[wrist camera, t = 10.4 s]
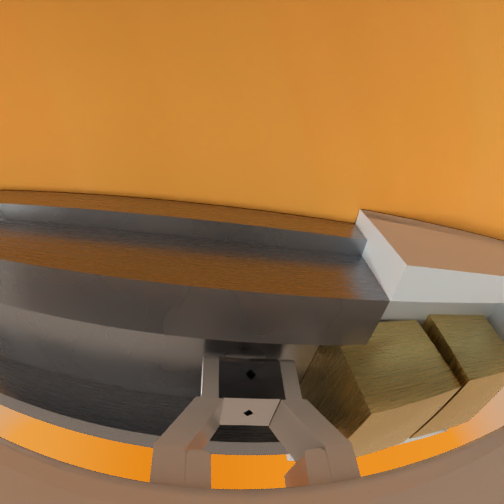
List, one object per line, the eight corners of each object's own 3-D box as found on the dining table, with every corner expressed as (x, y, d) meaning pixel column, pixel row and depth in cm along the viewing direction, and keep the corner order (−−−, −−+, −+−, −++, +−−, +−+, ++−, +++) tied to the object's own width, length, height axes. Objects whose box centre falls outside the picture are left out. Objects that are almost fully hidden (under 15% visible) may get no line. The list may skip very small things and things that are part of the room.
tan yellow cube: (295, 391, 12) (318, 466, 9) (329, 324, 10) (371, 414, 7) (374, 381, 13) (403, 442, 10) (415, 319, 11) (461, 386, 8)
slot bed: (-12, 353, 12) (-32, 392, 9) (-73, 190, 7) (-116, 223, 4) (282, 405, 14) (290, 457, 11) (355, 224, 9) (398, 283, 6)
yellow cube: (385, 377, 12) (409, 438, 9) (429, 313, 10) (469, 380, 7) (442, 370, 13) (467, 421, 10) (483, 315, 11) (520, 367, 8)
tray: (280, 409, 14) (287, 460, 12) (360, 209, 9) (407, 265, 6) (428, 394, 16) (445, 431, 13) (526, 247, 10) (563, 283, 7)
